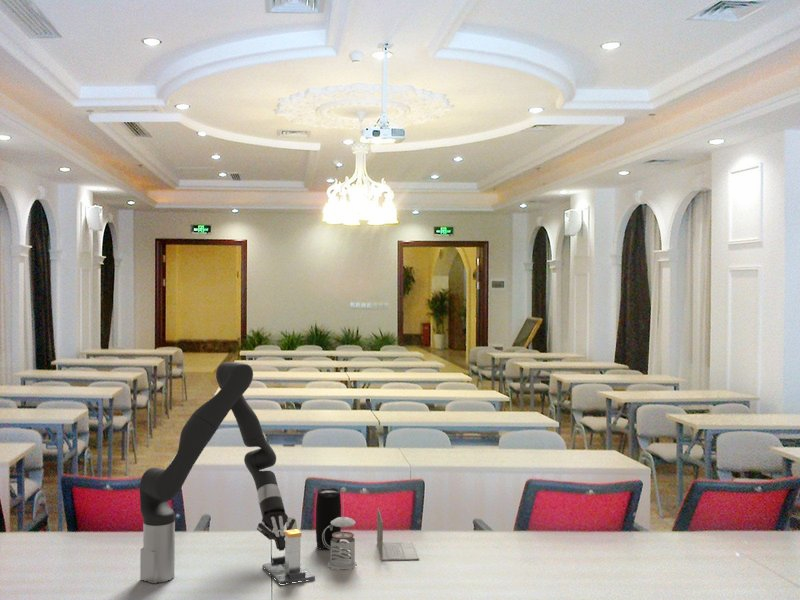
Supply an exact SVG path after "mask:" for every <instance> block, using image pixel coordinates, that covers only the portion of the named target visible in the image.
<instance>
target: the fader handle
mask: <svg viewBox="0 0 800 600" xmlns="http://www.w3.org/2000/svg"><path fill="white" fill-rule="evenodd" d="M284 532H285V549H284V551H285V553H284V554H285V555H284V556H285V571H286V573H288V574H291V573H297V572H300V564H301V546H302V545H301V540H302V539H301V537H302V532H301V531H300V530H299V529H297V528H296V529H291V530H287V529H286V530H284Z"/></svg>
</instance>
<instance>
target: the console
mask: <svg viewBox="0 0 800 600" xmlns="http://www.w3.org/2000/svg"><path fill="white" fill-rule="evenodd" d="M263 567H264V568H265V570H266V571H267V572H268V573H270V575H271V576H272V577H273V578H275V579H276V581H277V582H278V583H280V584H286V583H292V582H298V581H306V580H313V581H316V576H315V575H314V574H313V573H312V572H310V571H309V569H307V567H305V566H304V565H303V564H302V563H300V572H297V573H291V574H288V573H286V571H285V555H283V556H276V557H271V562H269V563H263V564H262V568H263ZM265 570H264V571H265ZM266 571H265V572H266ZM267 572H266V573H267ZM268 573H267V574H268ZM270 575H269V576H270ZM271 576H270V577H271ZM272 577H271V578H272ZM273 578H272V579H273ZM276 581H275V582H276ZM277 582H276V583H277ZM278 583H277V584H278Z"/></svg>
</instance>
